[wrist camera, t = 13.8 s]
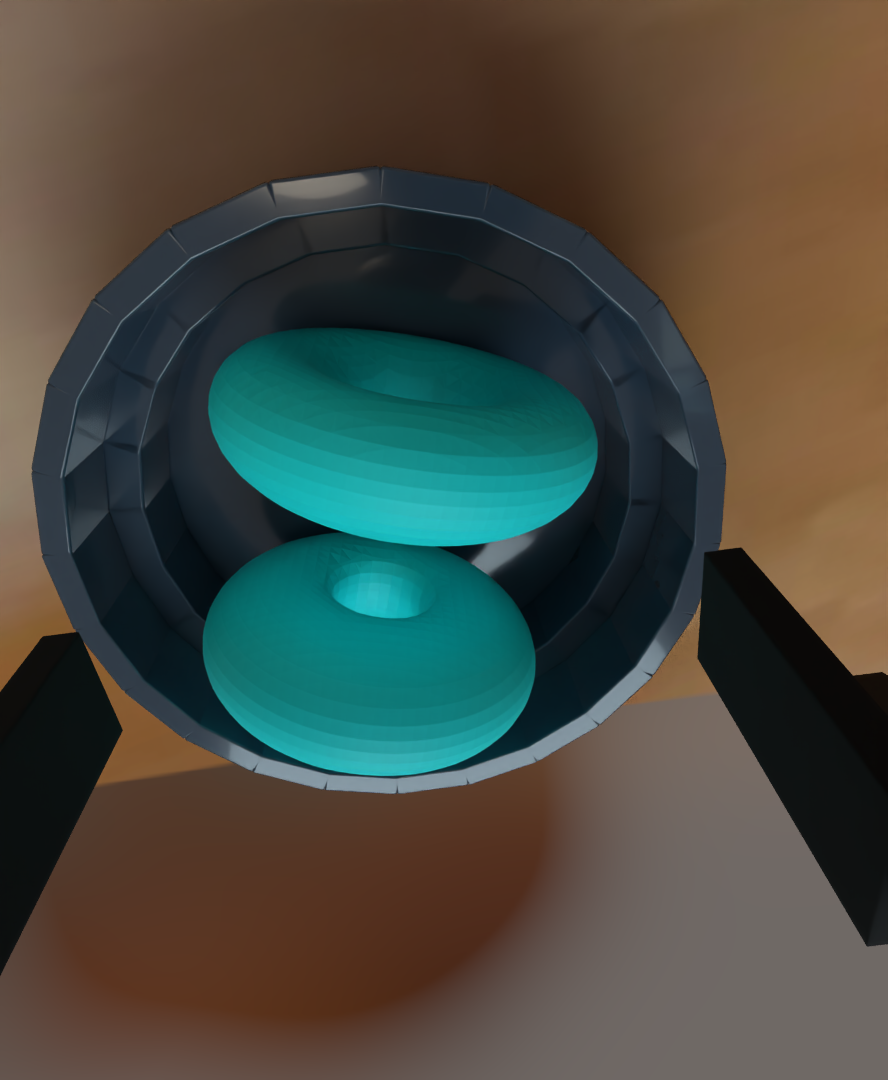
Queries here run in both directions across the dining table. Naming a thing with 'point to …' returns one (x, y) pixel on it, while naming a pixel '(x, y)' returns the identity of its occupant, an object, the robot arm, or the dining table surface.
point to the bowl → (260, 525)
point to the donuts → (385, 542)
